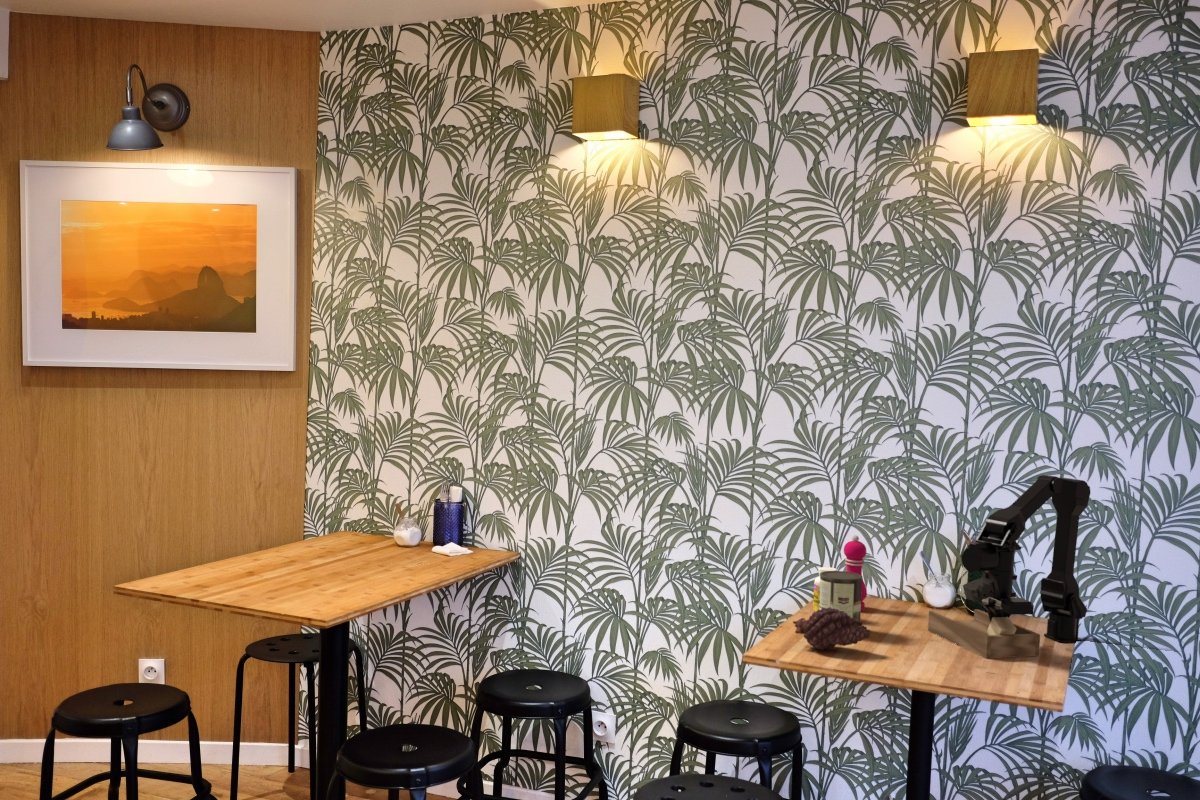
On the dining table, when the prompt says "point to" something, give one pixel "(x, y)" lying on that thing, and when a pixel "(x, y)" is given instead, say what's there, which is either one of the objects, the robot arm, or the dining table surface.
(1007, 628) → the beech block
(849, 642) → the pine cone
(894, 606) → the dining table surface
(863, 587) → the pepper mill
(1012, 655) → the tray
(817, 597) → the supplement bottle
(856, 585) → the coffee can
